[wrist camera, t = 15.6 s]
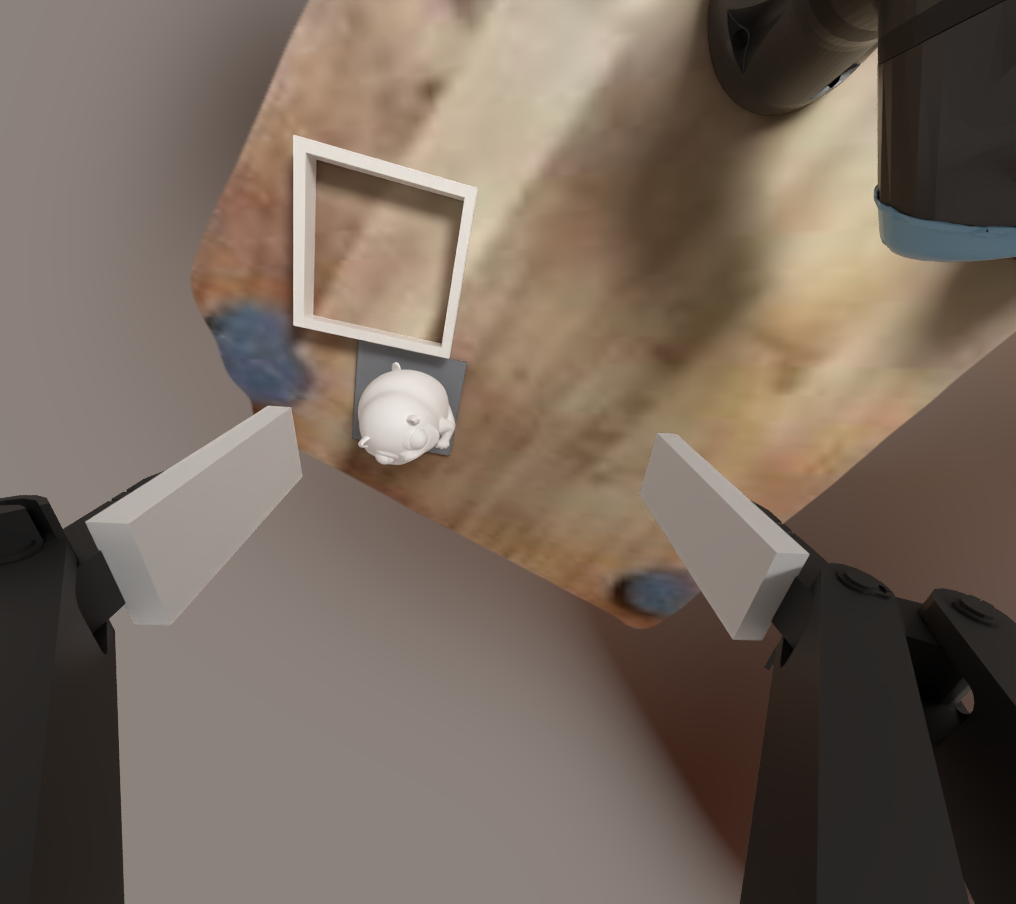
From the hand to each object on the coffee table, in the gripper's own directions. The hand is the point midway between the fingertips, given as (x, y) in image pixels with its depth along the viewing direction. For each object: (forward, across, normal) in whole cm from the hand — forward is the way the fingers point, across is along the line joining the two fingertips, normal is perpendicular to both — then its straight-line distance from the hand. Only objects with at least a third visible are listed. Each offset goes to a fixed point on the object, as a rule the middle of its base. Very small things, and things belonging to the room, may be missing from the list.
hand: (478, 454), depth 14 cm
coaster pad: (+32, -9, -9) cm, 34 cm away
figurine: (+31, -8, -9) cm, 34 cm away
